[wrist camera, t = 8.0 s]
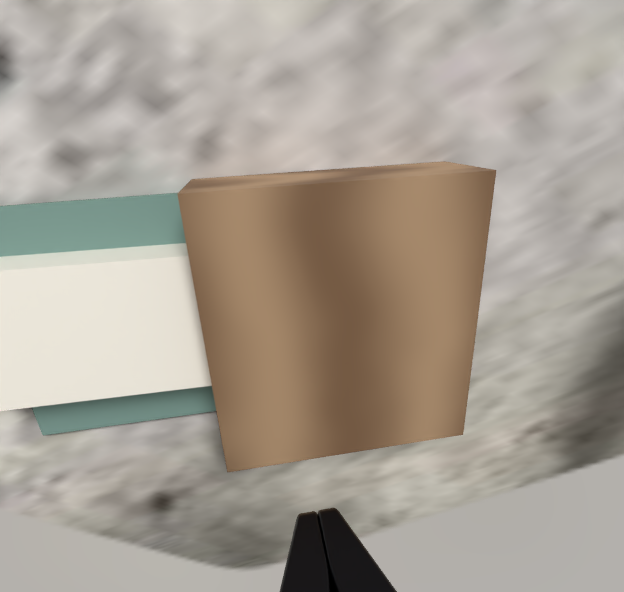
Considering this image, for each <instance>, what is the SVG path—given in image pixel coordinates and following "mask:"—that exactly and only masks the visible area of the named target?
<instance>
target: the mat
mask: <svg viewBox="0 0 624 592" xmlns="http://www.w3.org/2000/svg"><path fill="white" fill-rule="evenodd" d="M177 194H178V193H169V194H156V195H142V196H129V197H115V198H102V199H88V200H75V201H61V202H48V203H34V204H21V205H7V206H0V257H4V256H17V255H31V254H44V253H58V252H71V251H85V250H98V249H112V248H125V247H139V246H152V245H166V244H179V243H186V240H185V234H184V229H183V223H182V217H181V212H180V206H179V201H178V195H177ZM32 410H33V412H34V415H35V417H36V420H37V422H38V424H39V427H40V429H41V432H42V434H43V435H50V434H57V433H64V432H71V431H78V430H85V429H92V428H99V427H106V426H113V425H120V424H127V423H135V422H142V421H149V420H156V419H163V418H170V417H177V416H184V415H191V414H198V413H205V412H212V411H216V406H215V400H214V395H213V389H212V386H205V387H197V388H188V389H180V390H172V391H163V392H155V393H147V394H138V395H130V396H122V397H113V398H105V399H97V400H88V401H80V402H72V403H63V404H55V405H47V406H39V407H32Z"/></svg>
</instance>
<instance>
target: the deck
mask: <svg viewBox="0 0 624 592" xmlns="http://www.w3.org/2000/svg"><path fill="white" fill-rule="evenodd" d="M495 176H496V170H492V169H486V168H480V167H474V166H468V165H462V164H456V163H450V162H431V163H417V164H402V165H388V166H374V167H360V168H345V169H331V170H317V171H303V172H288V173H274V174H260V175H246V176H232V177H217V178H203V179H192V180H191V181H190V182H189V183H188V184H187V185H186V186H185V187H184V188H183V189H182V190H181V191H180V192H179V193H178V194H177V195H178V201H179V206H180V212H181V217H182V223H183V229H184V234H185V240H186V245H187V251H188V256H189V262H190V267H191V273H192V278H193V284H194V290H195V295H196V301H197V306H198V312H199V317H200V323H201V328H202V334H203V339H204V345H205V350H206V356H207V362H208V367H209V373H210V378H211V384H212V389H213V395H214V400H215V406H216V411H217V417H218V422H219V428H220V434H221V439H222V445H223V450H224V456H225V461H226V467H227V472H233V471H239V470H245V469H252V468H258V467H264V466H270V465H276V464H283V463H289V462H295V461H301V460H308V459H314V458H320V457H326V456H333V455H339V454H345V453H351V452H357V451H364V450H370V449H376V448H382V447H389V446H395V445H401V444H407V443H414V442H420V441H426V440H432V439H438V438H445V437H451V436H457V435H463V431H464V423H465V415H466V407H467V399H468V391H469V383H470V375H471V367H472V359H473V351H474V343H475V335H476V328H477V320H478V312H479V304H480V296H481V288H482V280H483V272H484V264H485V256H486V248H487V240H488V232H489V224H490V216H491V208H492V200H493V192H494V184H495Z"/></svg>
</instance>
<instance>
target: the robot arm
mask: <svg viewBox="0 0 624 592" xmlns="http://www.w3.org/2000/svg"><path fill="white" fill-rule="evenodd" d="M280 592H397V591H396V590H395V589H394V587H393V586H392V585H391V583H390V582H389V580H388V579H387V578H386V576H385V575H384V573H383V572H382V571H381V569H380V568H379V566H378V565H377V564H376V562H375V561H374V559H373V558H372V557H371V555H370V554H369V553H368V551H367V550H366V548H365V547H364V546H363V544H362V543H361V541H360V540H359V539H358V537H357V536H356V534H355V533H354V532H353V530H352V529H351V528H350V526H349V525H348V523H347V522H346V521H345V519H344V518H343V516H342V515H341V514H340V512H339V511H338V510H337V509H336V508H330V509H324V510H320V511H318V514H317V513H316V512H314V511H312V512H307V513H301V514H299V515H298V517H297V520H296V524H295V528H294V532H293V537H292V541H291V545H290V550H289V554H288V558H287V563H286V567H285V571H284V576H283V580H282V584H281V589H280Z"/></svg>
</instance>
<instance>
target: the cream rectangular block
mask: <svg viewBox="0 0 624 592" xmlns="http://www.w3.org/2000/svg"><path fill="white" fill-rule="evenodd" d="M205 386H212V384H211V378H210V373H209V367H208V362H207V356H206V350H205V345H204V339H203V334H202V328H201V323H200V317H199V312H198V306H197V301H196V295H195V290H194V284H193V278H192V273H191V267H190V262H189V256H188V251H187V245H186V243H179V244H166V245H152V246H139V247H125V248H112V249H98V250H85V251H71V252H58V253H44V254H31V255H17V256H4V257H0V411H5V410H14V409H22V408H30V407H39V406H47V405H55V404H63V403H72V402H80V401H88V400H97V399H105V398H113V397H122V396H130V395H138V394H147V393H155V392H163V391H172V390H180V389H188V388H197V387H205Z"/></svg>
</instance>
